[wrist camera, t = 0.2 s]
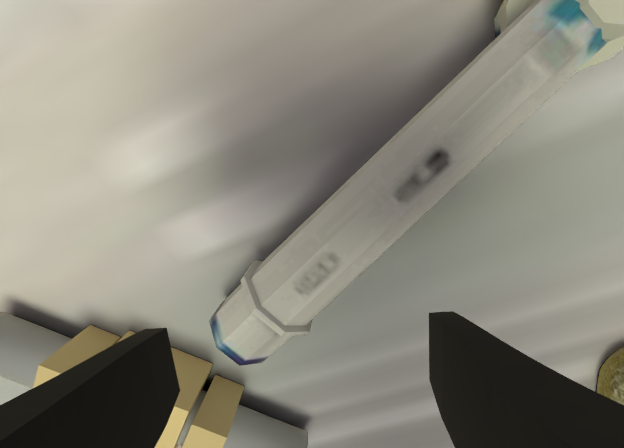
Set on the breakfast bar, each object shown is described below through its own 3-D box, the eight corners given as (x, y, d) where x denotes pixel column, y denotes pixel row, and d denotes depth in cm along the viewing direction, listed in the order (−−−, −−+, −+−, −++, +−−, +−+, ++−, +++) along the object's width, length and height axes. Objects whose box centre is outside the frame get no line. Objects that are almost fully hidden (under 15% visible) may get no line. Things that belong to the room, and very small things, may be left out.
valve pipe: (317, 405, 21) (314, 460, 18) (284, 466, 23) (276, 529, 19) (17, 285, 20) (-51, 318, 17) (2, 357, 22) (-65, 402, 18)
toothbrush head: (184, 328, 16) (762, -274, 8) (233, 265, 22) (582, -107, 14) (264, 392, 17) (876, -93, 8) (290, 314, 23) (657, -11, 15)
